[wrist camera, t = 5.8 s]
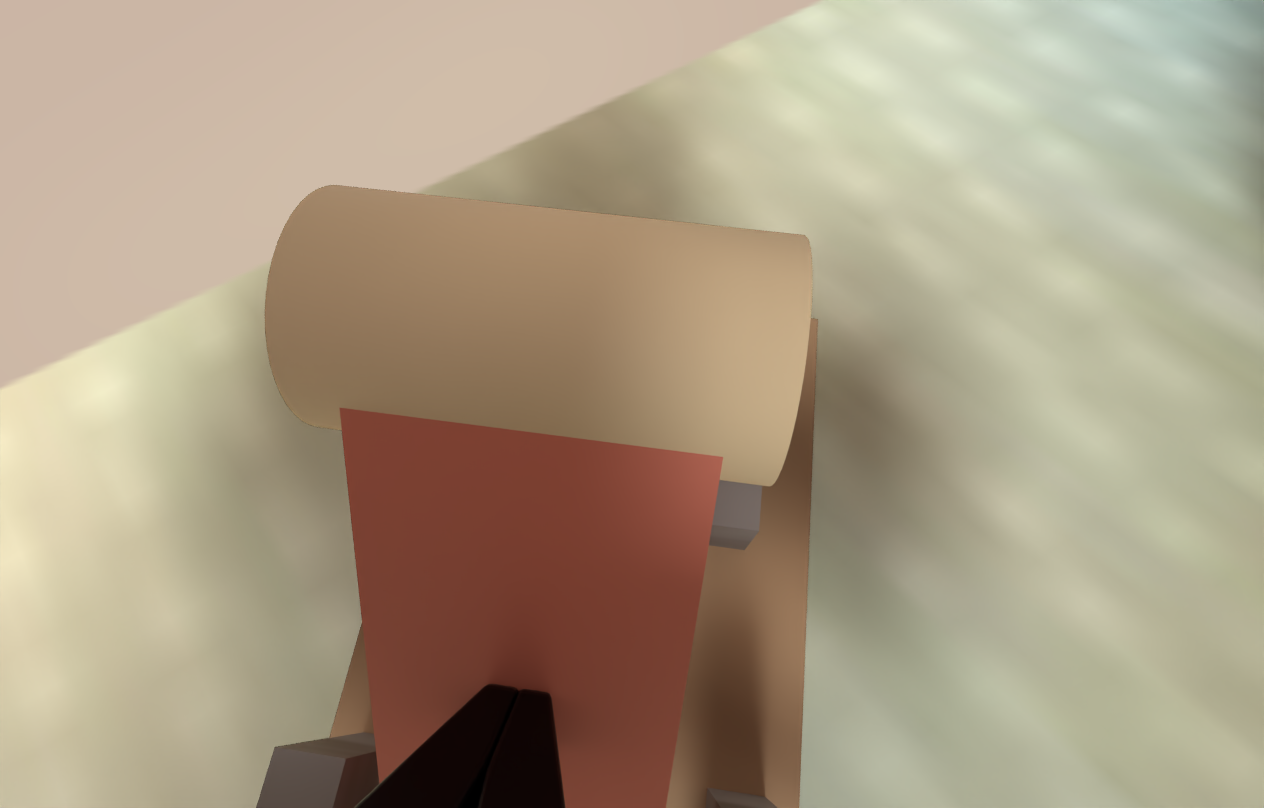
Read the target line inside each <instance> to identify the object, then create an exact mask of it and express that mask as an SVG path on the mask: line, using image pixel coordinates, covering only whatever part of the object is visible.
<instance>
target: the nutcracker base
mask: <svg viewBox="0 0 1264 808" xmlns="http://www.w3.org/2000/svg"><path fill="white" fill-rule="evenodd" d="M817 325H818V319H812V318H811V321H810V332H809V341H808V350H807V358H806V365H805V372H804V379H803V384H802V390H801V396H800V401H799V407H798V412H797V417H796V421H795V425H794V430H793V434H792V438H791V442H790V445H789V449H788V452H787V455H786V459H785V462H784V464H783V467H782V470H781V472H780V474H779V476H778V478H777V480H776V482H775V483H774V484H773V485H772V486H761V485H754V484H746V483H739V482H731V481H723V480H719V486H718V492H717V498H716V504H715V510H714V516H713V523H712V529H711V535H710V541H709V547H708V553H707V559H706V565H705V571H704V577H703V584H702V590H701V596H700V602H699V608H698V614H697V620H696V626H695V632H694V639H693V645H692V651H691V657H690V663H689V669H688V675H687V681H686V687H685V693H684V700H683V706H682V712H681V718H680V724H679V730H678V736H677V742H676V748H675V755H674V761H673V767H672V773H671V779H670V785H669V791H668V797H667V803H666V808H799V797H800V771H801V744H802V718H803V692H804V666H805V640H806V613H807V587H808V561H809V535H810V509H811V482H812V456H813V430H814V404H815V378H816V351H817ZM378 785H379V775H378V765H377V756H376V747H375V737H374V728H373V718H372V709H371V700H370V690H369V681H368V671H367V662H366V653H365V643H364V634H363V625H362V624H361V627H360V631H359V635H358V638H357V642H356V645H355V649H354V652H353V656H352V659H351V663H350V666H349V670H348V674H347V677H346V681H345V684H344V688H343V691H342V695H341V698H340V702H339V705H338V709H337V713H336V716H335V720H334V723H333V727H332V730H331V734H330V737H329V738H326V739H320V740H314V741H308V742H302V743H296V744H290V745H284V746H278V747H275V748H274V752H273V755H272V758H271V761H270V765H269V768H268V771H267V774H266V778H265V781H264V784H263V787H262V790H261V794H260V797H259V800H258V803H257V807H256V808H354V807H355V806H356V805H357V804H358V803H359V802H360V801H361V800H362V799H364V798H365V797H366V796H367V795H368V794H369V793H370V792H371V791H372V790H373V789H374V788H375V787H376V786H378Z"/></svg>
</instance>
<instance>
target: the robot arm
mask: <svg viewBox="0 0 1264 808" xmlns="http://www.w3.org/2000/svg"><path fill="white" fill-rule="evenodd" d="M354 808H566V807H565V799H564V791H563V783H562V775H561V767H560V759H559V751H558V744H557V736H556V728H555V720H554V712H553V704H552V698H551V695H550V694H549V693H547V692H542V691H536V690H530V689H522V690H520V692H518V690H517V689H516V688H515V687H510V686H504V685H497V684H488V685H486V686H484V687H483V688H482V689H481V690H480V691H479V692H478V693H476V694H475V695H474V696H473V697H472V698H471V699H470V700H469V701H468V702H467V703H466V704H465V705H464V706H463V707H461V708H460V709H459V710H458V711H457V712H456V713H455V714H454V715H453V716H452V717H451V718H450V719H449V720H447V721H446V722H445V723H444V724H443V725H442V726H441V727H440V728H439V729H438V730H437V731H436V732H435V733H433V734H432V735H431V736H430V737H429V738H428V739H427V740H426V741H425V742H424V743H423V744H422V745H421V746H419V747H418V748H417V749H416V750H415V751H414V752H413V753H412V754H411V755H410V756H409V757H408V758H407V759H406V760H404V761H403V762H402V763H401V764H400V765H399V766H398V767H397V768H396V769H395V770H394V771H393V772H392V773H390V774H389V775H388V776H387V777H386V778H385V779H384V780H383V781H382V782H381V783H380V784H379V785H378V786H376V787H375V788H374V789H373V790H372V791H371V792H370V793H369V794H368V795H367V796H366V797H365V798H364V799H362V800H361V801H360V802H359V803H358V804H357V805H356V806H355V807H354Z"/></svg>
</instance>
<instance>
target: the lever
mask: <svg viewBox="0 0 1264 808" xmlns="http://www.w3.org/2000/svg"><path fill="white" fill-rule="evenodd" d="M811 307H812V255H811V248H810V244H809V240H808V238H807V237H806V236H805V235H798V234H789V233H779V232H770V231H761V230H751V229H742V228H733V227H723V226H714V225H705V224H695V223H686V222H677V221H667V220H658V219H648V218H639V217H630V216H620V215H611V214H602V213H592V212H583V211H574V210H564V209H555V208H546V207H536V206H527V205H517V204H508V203H499V202H489V201H480V200H471V199H461V198H452V197H443V196H433V195H424V194H414V193H405V192H396V191H386V190H377V189H368V188H358V187H349V186H340V185H329V186H325V187H322V188H319V189H317V190H315V191H313V192H312V193H310V194H309V195H308V196H307V197H306V198H304V199H303V200H302V201H301V202H300V203H299V205H298V206H297V207H296V209H295V210H294V211H293V213H292V214H291V216H290V217H289V219H288V221H287V223H286V224H285V226H284V228H283V231H282V233H281V236H280V237H279V240H278V242H277V246H276V249H275V252H274V255H273V258H272V262H271V267H270V271H269V276H268V283H267V290H266V302H265V334H266V343H267V351H268V356H269V361H270V366H271V369H272V373H273V376H274V379H275V382H276V385H277V387H278V389H279V392H280V394H281V396H282V398H283V399H284V401H285V403H286V404H287V406H288V407H289V408H290V410H291V411H292V412H293V413H294V414H295V415H296V416H297V417H298V418H299V419H300V420H302V421H303V422H305V423H307V424H309V425H311V426H315V427H319V428H327V429H335V430H342V437H343V446H344V456H345V465H346V474H347V484H348V493H349V503H350V512H351V521H352V531H353V540H354V550H355V559H356V568H357V578H358V587H359V596H360V606H361V615H362V625H363V634H364V643H365V653H366V662H367V671H368V681H369V690H370V700H371V709H372V718H373V728H374V737H375V747H376V756H377V765H378V775H379V784H380V783H381V782H382V781H383V780H384V779H385V778H386V777H387V776H388V775H389V774H390V773H392V772H393V771H394V770H395V769H396V768H397V767H398V766H399V765H400V764H401V763H402V762H403V761H404V760H406V759H407V758H408V757H409V756H410V755H411V754H412V753H413V752H414V751H415V750H416V749H417V748H418V747H419V746H421V745H422V744H423V743H424V742H425V741H426V740H427V739H428V738H429V737H430V736H431V735H432V734H433V733H435V732H436V731H437V730H438V729H439V728H440V727H441V726H442V725H443V724H444V723H445V722H446V721H447V720H449V719H450V718H451V717H452V716H453V715H454V714H455V713H456V712H457V711H458V710H459V709H460V708H461V707H463V706H464V705H465V704H466V703H467V702H468V701H469V700H470V699H471V698H472V697H473V696H474V695H475V694H476V693H478V692H479V691H480V690H481V689H482V688H483V687H484V686H486V685H488V684H497V685H504V686H510V687H515V688H516V689H517V690H518V692H520V690H522V689H530V690H536V691H542V692H547V693H549V694H550V695H551V698H552V704H553V712H554V720H555V728H556V736H557V744H558V751H559V759H560V767H561V775H562V783H563V791H564V799H565V807H566V808H666V803H667V797H668V791H669V785H670V779H671V773H672V767H673V761H674V755H675V748H676V742H677V736H678V730H679V724H680V718H681V712H682V706H683V700H684V693H685V687H686V681H687V675H688V669H689V663H690V657H691V651H692V645H693V639H694V632H695V626H696V620H697V614H698V608H699V602H700V596H701V590H702V584H703V577H704V571H705V565H706V559H707V553H708V547H709V541H710V535H711V529H712V523H713V516H714V510H715V504H716V498H717V492H718V486H719V480H723V481H731V482H739V483H746V484H754V485H761V486H772V485H773V484H774V483H775V482H776V480H777V478H778V476H779V474H780V472H781V470H782V467H783V464H784V462H785V459H786V455H787V452H788V449H789V445H790V442H791V438H792V434H793V430H794V425H795V421H796V417H797V412H798V407H799V401H800V396H801V390H802V384H803V379H804V372H805V365H806V358H807V350H808V341H809V332H810V321H811Z"/></svg>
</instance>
